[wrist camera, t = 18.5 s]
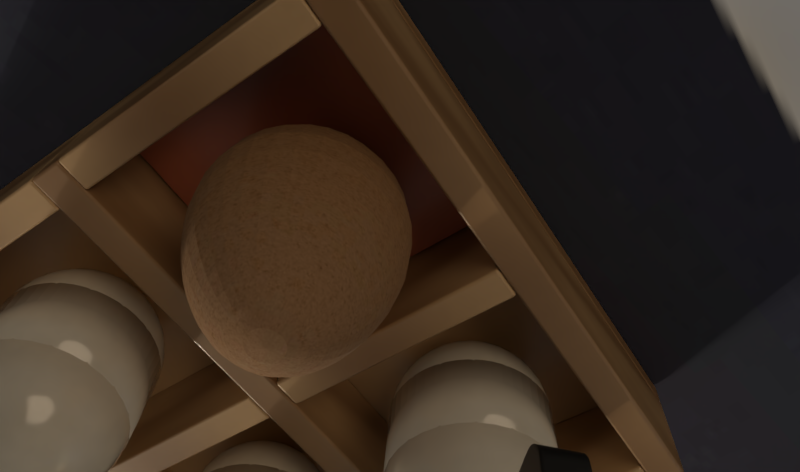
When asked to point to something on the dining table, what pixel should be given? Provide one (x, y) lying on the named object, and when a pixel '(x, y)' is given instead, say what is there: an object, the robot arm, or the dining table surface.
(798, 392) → the dining table surface
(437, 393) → the cream egg
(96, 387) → the cream egg
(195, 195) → the egg
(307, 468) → the cream egg
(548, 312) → the egg tray
